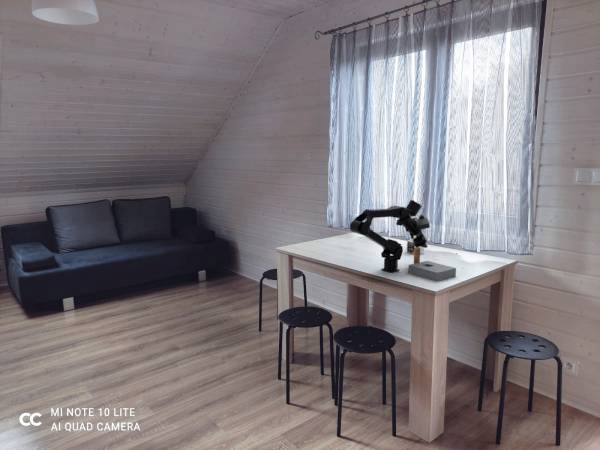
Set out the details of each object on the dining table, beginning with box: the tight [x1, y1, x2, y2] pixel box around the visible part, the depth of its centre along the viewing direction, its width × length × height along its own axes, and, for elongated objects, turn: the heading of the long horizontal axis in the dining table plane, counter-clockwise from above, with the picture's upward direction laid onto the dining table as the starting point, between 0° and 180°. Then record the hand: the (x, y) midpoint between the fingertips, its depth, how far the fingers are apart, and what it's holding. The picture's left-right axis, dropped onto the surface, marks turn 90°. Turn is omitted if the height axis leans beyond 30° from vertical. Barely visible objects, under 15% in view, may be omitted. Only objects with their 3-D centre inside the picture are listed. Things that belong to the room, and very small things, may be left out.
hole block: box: [407, 260, 457, 282], centre depth 216 cm, size 14×17×4 cm
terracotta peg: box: [413, 247, 421, 264], centre depth 229 cm, size 3×3×10 cm
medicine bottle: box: [406, 235, 425, 256], centre depth 260 cm, size 7×7×12 cm
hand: (424, 241), depth 233 cm, fingers open, 9 cm apart
